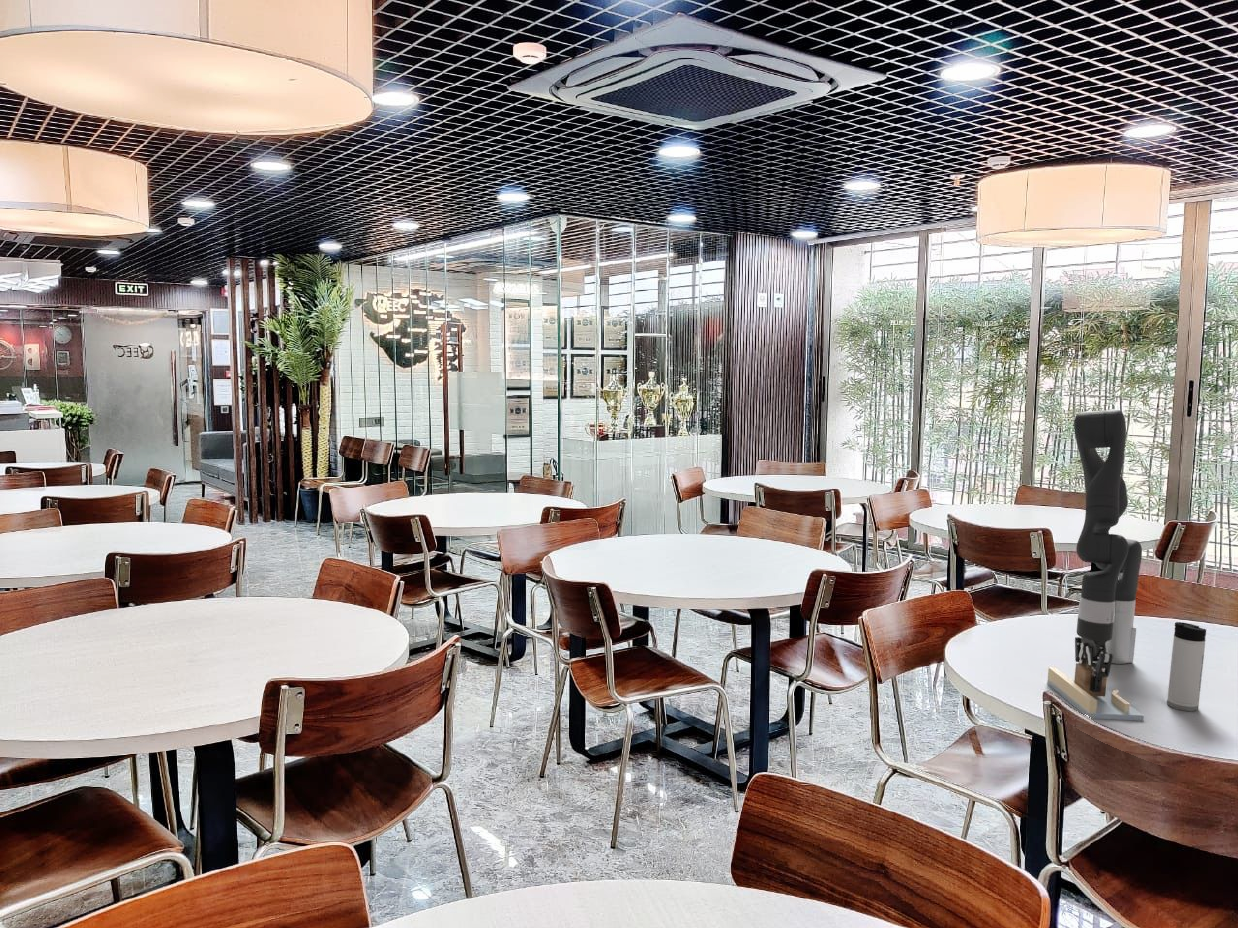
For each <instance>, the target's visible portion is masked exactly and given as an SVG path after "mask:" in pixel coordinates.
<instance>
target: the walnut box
mask: <svg viewBox="0 0 1238 928" xmlns="http://www.w3.org/2000/svg"><path fill="white" fill-rule="evenodd" d="M1096 668H1097V666H1096V667H1095V670H1096ZM1104 671H1105V669H1104ZM1091 676H1092V675H1091V667H1090V666H1089V665H1088V664H1080V663H1079V662H1076V663H1075V669H1074V679H1073V680H1074V683H1075V684H1077V685H1078V686H1079V687H1080V688H1082V689H1083V690H1084V691H1085V692H1087V693H1088V694H1089V695H1091V696H1105V693H1106V688H1107V681H1108V677H1102V686H1101V692H1092V691H1091V690H1090V684H1091Z"/></svg>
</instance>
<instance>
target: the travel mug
mask: <svg viewBox="0 0 1238 928" xmlns="http://www.w3.org/2000/svg"><path fill="white" fill-rule="evenodd" d="M1206 635H1207V629H1206V628H1202V627H1200V626H1199V625H1195V624H1193V623H1187V622H1181V621H1176V622H1175V623H1174V633H1173V640H1172V651H1171V660H1170V661H1171V662H1170V671H1169V679H1168V690H1167V701H1166V703H1167V705H1168V706H1169V707H1171V708H1173V709H1176V710H1180V711H1185V712H1196V711H1198V710H1199V705H1200V698H1201V697H1200V695H1201V687H1202V686H1201V685H1202V676H1203V668H1204V659H1205V658H1204V657H1205V648H1206Z"/></svg>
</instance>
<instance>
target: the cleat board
mask: <svg viewBox="0 0 1238 928" xmlns="http://www.w3.org/2000/svg"><path fill="white" fill-rule="evenodd" d="M1046 682H1047V683H1046V684H1047V685H1048V686H1050V687H1051V688H1052V689H1053V690H1054V691H1055V692H1057V693H1058V694H1059V695H1061V697H1062V698H1064V699H1065V700H1066V701H1068V702H1069V704H1071V705H1072V706H1074V707H1075V708H1076V709H1077V710H1078V711H1079V712H1080V713H1082V714H1083V713H1084V714H1086V715H1088V716H1089V717H1091V718H1090V719H1093V720H1119V721H1123V720H1124V721H1141V722H1142V721H1143V722H1144V718H1145V716H1144V714H1143V713H1141V712H1140V711H1138V709H1136V708H1135V707H1133V706H1131V703H1129V702H1128V701H1126V699H1124V698H1123V697H1121V696H1120V695H1119V693H1120V692H1119V691H1120V690H1118V689H1113V691H1111V690H1110V689H1109V688H1107V687H1106V693H1105V696H1091V695H1089V694H1088V693H1087V692H1085V691H1084V690H1083V689H1082V688H1080V687H1079V686H1078V685H1077V684H1075V683H1074V679H1070V678H1069V677H1067V676H1066V674H1064V673H1063V672H1061V671H1060V670H1059V669H1057V668H1056V667H1053V666H1050V667H1049V666H1048V671H1047V681H1046ZM1084 714H1083V715H1084Z"/></svg>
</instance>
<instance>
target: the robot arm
mask: <svg viewBox="0 0 1238 928" xmlns="http://www.w3.org/2000/svg"><path fill="white" fill-rule="evenodd" d="M1126 423H1127V422H1126V418H1125V415H1124V413H1123V412H1122V410H1119V409H1104V410H1089V411H1081V412H1078V413H1077V414H1076V415H1075V417H1074V421H1073V431H1074V437H1075V441H1076V442H1075V443H1076V445H1077V449H1078V452H1079V453H1078V454H1079V457H1080V461H1081V466H1082V467H1081V468H1082V470H1083V472H1082V473H1083V481H1084V487H1085V516H1084V522H1083V523H1084V524H1083V527H1082V529H1081V533H1080V535H1079V538H1078V540H1077V543H1076V555H1077V557H1078V559H1080V560H1081V561H1082V562H1085V563H1092V564H1095V565H1096V567H1097V568H1098V569H1100V570H1099V571H1090V572H1089V571H1088V572H1085V573H1084V574H1083V576H1082V580H1081V592H1080V593H1081V594H1080V600H1079V604H1078V609H1077V610H1078V611H1077V613H1078V614H1077V621H1076V622H1077V624H1076V635H1077V636H1075V637H1074V650H1075V651H1074V655H1075V656H1074V660H1075V662H1076V663H1080V664H1088V665H1089V666H1090V667H1091V675H1092V676H1091V684H1090V690H1091V691H1092V692H1101V686H1102V677H1107V678H1108V677H1109V675H1110V670H1111V666H1112V664H1115V665H1116V664H1119V665H1120V664H1121V665H1122V664H1123V665H1124V664H1129V663H1134V657H1135V647H1136V646H1135V645H1136V636H1137V628H1136V627H1135V626H1134V623H1135V622H1134V621H1135V611H1136V599H1137V598H1136V597H1137V592H1138V584H1139V583H1138V582H1139V578H1140V577H1139V575H1140V569H1141V564H1142V559H1143V558H1142V556H1143V549H1142V544H1141V543H1140V542H1139V541H1138V540H1135V539H1129V538H1126V537H1124V536H1123V535H1121V534H1116V533H1115V534H1114V533H1110V529H1111V528H1112V527H1115V526H1117V525H1118V523H1119V522H1120V521H1119V520H1120V518H1121V517H1122V516H1123V514H1124V513H1125V512H1126V510H1127V507H1128V506H1129V505H1128V504H1129V502H1128V501H1129V499H1128V493H1127V485H1126V482H1125V480H1124V478H1123V477H1122V471H1123V467H1124V466H1123V464H1124V459H1125V451H1126V450H1125V448H1126V442H1127V441H1126V440H1127V424H1126ZM1100 448H1101V449H1102V448H1106V449H1107V448H1109V452H1108V455H1107V457H1106V459H1105V460H1104V459H1103V458H1102V457H1101V456H1100V455H1099V453H1098V451H1097V450H1096V449H1100ZM1120 574H1122V576H1121V578H1119V575H1120ZM1096 666H1097V668H1096V670H1095V667H1096ZM1104 670H1105V671H1104Z"/></svg>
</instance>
